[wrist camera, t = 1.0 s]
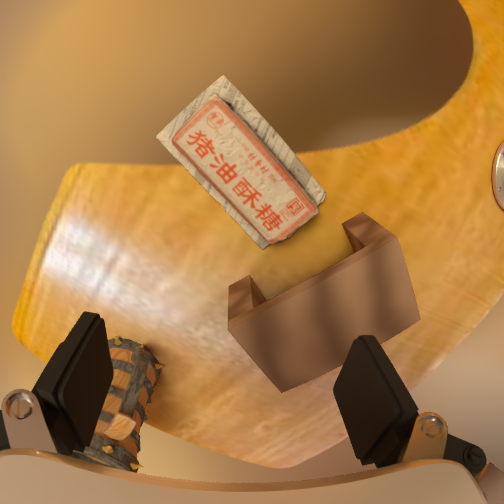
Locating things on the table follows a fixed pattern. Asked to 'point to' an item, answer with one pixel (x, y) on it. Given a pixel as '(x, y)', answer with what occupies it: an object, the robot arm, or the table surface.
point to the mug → (123, 407)
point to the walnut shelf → (326, 309)
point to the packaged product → (243, 164)
